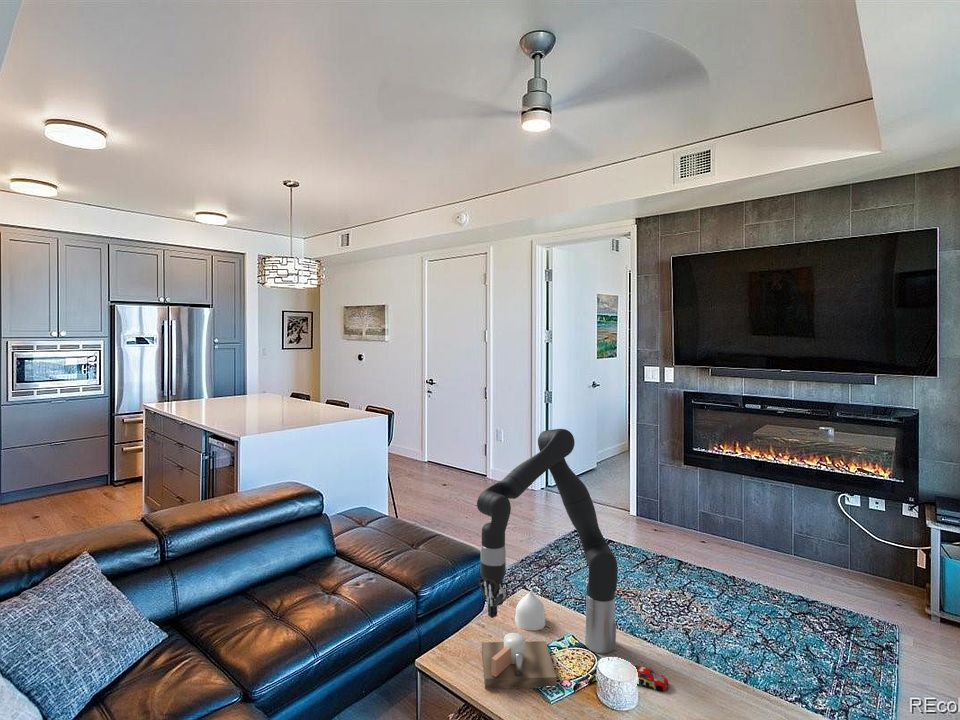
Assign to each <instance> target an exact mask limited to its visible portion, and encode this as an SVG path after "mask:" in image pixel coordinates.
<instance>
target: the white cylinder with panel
mask: <svg viewBox="0 0 960 720" xmlns="http://www.w3.org/2000/svg"><path fill="white" fill-rule="evenodd" d="M503 642H504V648H503V649H502V650H501V651H500V652H498V653H497V654H496V655H495V656H494V657H493V658H492V666H491V675H493V676H495V677H497V676H498V675H499V674H500V673H501V672H502V671H503V670H504V669H505V668H506V667H508V666H509V665H510V664H516V653H517V652H521V653H522V662H523V661H524V654H525V642H526V638H525V636H524V635H522V634H521V633H517V632H509V633H507V634H505V635H504V637H503Z"/></svg>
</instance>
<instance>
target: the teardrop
mask: <svg viewBox="0 0 960 720" xmlns="http://www.w3.org/2000/svg"><path fill="white" fill-rule="evenodd" d="M514 621H515V622H516V623H515V625H516V626H517V627H518V628H519V629H523V630H526V631H539V630H541V629H544V627H545V626H546V610H545V606H544V603H543V602H542V601H541V599H540V598H539V597H538V596H537V595H535V594H534V592H532V590H531V589H530V591H529V592H528V593H527V594H526V595H524V596H523V597H522V598H521V599H520V600H519V602H518V603H517V605H516V607H515V618H514Z"/></svg>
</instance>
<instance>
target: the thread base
mask: <svg viewBox="0 0 960 720" xmlns="http://www.w3.org/2000/svg"><path fill="white" fill-rule="evenodd" d="M503 648H504V641H486V642H485V641H483V642H481V658H482V659H481V660H482V668H483V669H482V671H483V680H484V682H483V683H484V689H485V690H486V689H487V690H489V689H490V690H491V689H534V688H535V689H536V687H544V686H556V687H557V681H558V680H557V679H558V677H557V674H556V670H555V668H554V667H555V666H554V664H553V661H552V658H551V657H552V656H551V654H550V651H549V648H548V644H547V642H546V641H544V640H542V641H541V640H540V641H534V640H533V641H532V640H531V641H525V654H524V661H523V662H522V653H521V652H517V653H516V664H510V665H509V666H508V667H506V668H505V669H504V670H503V671H502V672H501V673H500V674H499V675H498V676H497V677H495V676H493V675H491V666H492V658H493V657H494V656H495V655H496V654H497V653H498V652H500V651H501V650H502V649H503Z"/></svg>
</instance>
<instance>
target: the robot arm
mask: <svg viewBox="0 0 960 720" xmlns="http://www.w3.org/2000/svg"><path fill="white" fill-rule="evenodd" d="M538 435H539V436H538V438H537V447H538V450H539V452H538V453H536V454H534V455H533V456H531V457H530V458H528V459H526V460H525V461H523V462H521V463H520V464H519V465H517V466H516V467H514V469H512V470H511V471H510V472H509V473H508V474H507V475H506V476H504V478H503V479H502V480H499V481H498V482H496V483H494V484H492V485H490V486H489V487H487V488H485V489H484V490H483V491H482V492H481V493H480V494H479V496H478V498H477V500H476V508H477V510H478V511H479V512H480V513H481V514H483V515H486V516H488V517H490V518H491V521H490V522H486V523H484V525H483V526H482V527H481V545H480V546H481V547H480V568H479V569H480V570H479V571H480V573H479V574H480V576H481V578H478V584H479V589H480V591H481V593H482V597H483V599H484V600H486V603H487V616H488V617H490V618H491V619H493V618H496V617H497V616H498V606H501V605H503V604H504V602H505V601H506V600H507V598H508V597H509V592H507V591H505V590H504V581H503V580H504V578H505V576H506V573H507V571H506V570H507V569H506V567H507V565H506V563H507V561H506V560H507V559H506V558H507V551H506V530H507V528H508V527H507V526H508V522H509V521H510V520H509V519H510V516H511V510H512V508H511V507H512V506H511V502H510V500H514V499H518V498H519V497H520V496H521V495H522V494H523V493H524V492H525V491H526V490H527V489H528V488H529V487H530V486H531V485H533V484H534V482H535V481H536V480H538V478H540V477H541V476H542V475H543V474H545V473H546V472H547V471H548V470H549V472H550V473H551V476H552V478H553V481H554V484H555V486H556V489H557V491H558V493H559V496H560V498H561V501H562V504H563V506H564V509H565V511H566V514H567V515H568V518H569V519H570V522H571V524H572V525H573V527H574V528H575V530H576V532H577V534H578V536H579V539H580V542H581V546H582V549H583V553H584V556H585V561H586V563H587V566H588V583H587V585H586V593H585V594H586V595H585V599H586V600H585V636H584V640H585V641H584V642H585V643H584V644H585V646H586V648H587V649H588V650H589V651H592V652H594V653H597V654H608V653H611V652H613V651H616V648H617V645H616V644H617V641H616V640H617V622H616V619H615V606H616V605H615V598H616V597H615V596H616V592H617V586H618V561H617V558H616V557H615V555H614V553H613V551H612V549H611V548H610V546H609V545H608V543H607V541H606V540H605V538H604V535H603V534H602V531H601V529H600V527H599V526H600V525H599V523H598V517H597V513H596V509H595V505H594V503H593V499H592V498H591V495H590V491H589V490H588V488H587V486H586V485H585V483H584V482H582V481H583V480H581V479H580V478H579V477H578V475H577V474H575V472H574V471H573V470H572V469H571V468H570V466H569V464H568V462H567V461H566V457H568V456H569V455H570V454H571V453H572V452H573V451H574V447H575V443H576V442H575V437H574V435H573V434H572V432H571V431H569V430H568V429H565V428H556V429H555V428H554V429H547V430H544V431H541V433H540V434H538Z"/></svg>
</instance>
